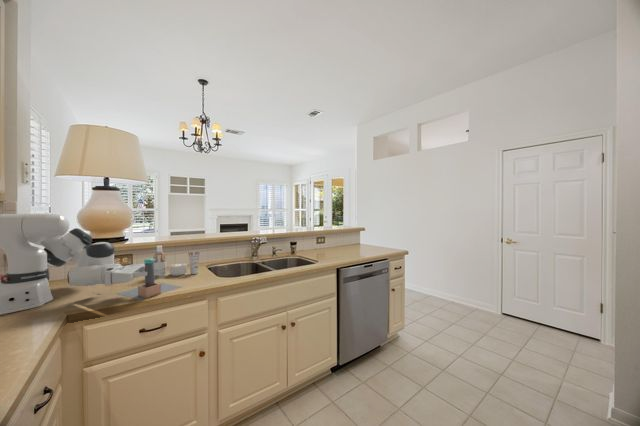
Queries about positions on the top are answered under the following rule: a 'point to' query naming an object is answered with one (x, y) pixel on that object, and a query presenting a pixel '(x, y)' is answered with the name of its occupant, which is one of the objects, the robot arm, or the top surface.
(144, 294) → the pink open box
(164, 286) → the board
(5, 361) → the top surface
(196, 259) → the cosmetic set
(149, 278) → the marker
